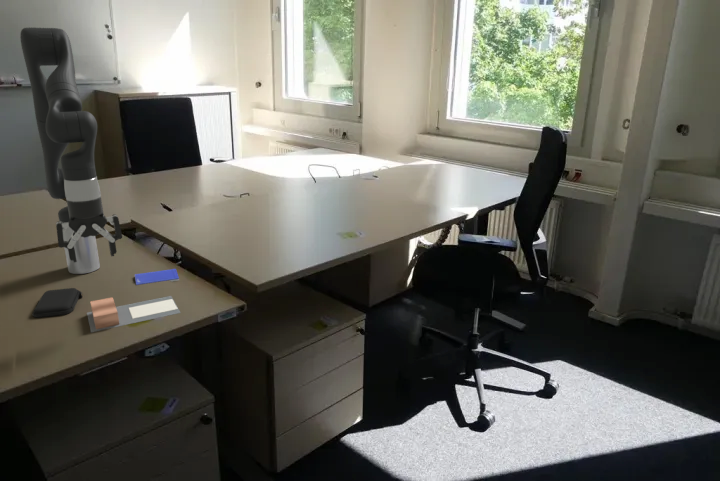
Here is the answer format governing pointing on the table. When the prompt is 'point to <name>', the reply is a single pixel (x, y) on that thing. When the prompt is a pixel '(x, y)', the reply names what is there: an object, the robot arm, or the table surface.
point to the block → (104, 313)
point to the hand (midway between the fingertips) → (93, 258)
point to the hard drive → (156, 276)
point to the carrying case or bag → (57, 302)
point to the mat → (140, 312)
